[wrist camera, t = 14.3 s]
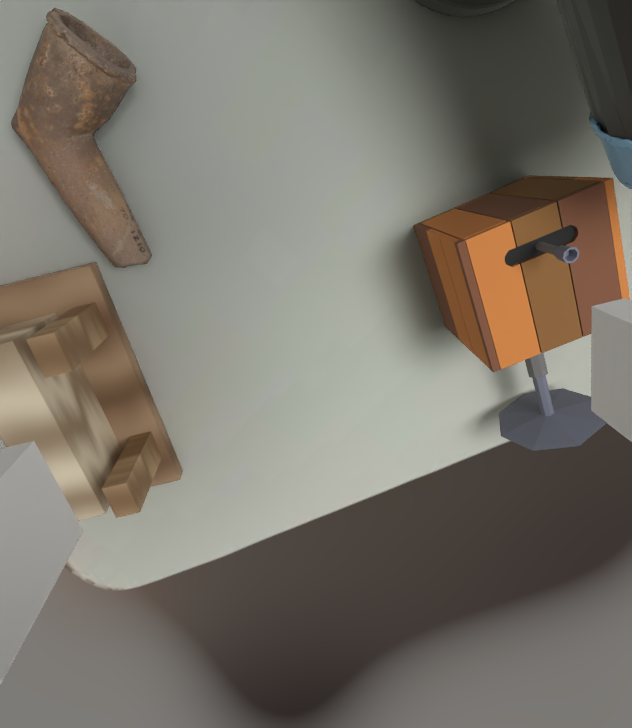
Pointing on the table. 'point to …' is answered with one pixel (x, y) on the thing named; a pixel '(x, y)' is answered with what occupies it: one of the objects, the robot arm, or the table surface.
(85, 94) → the pipe
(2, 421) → the cream wooden block
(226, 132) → the table surface
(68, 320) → the wooden block assembly
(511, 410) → the wooden box with plunger
